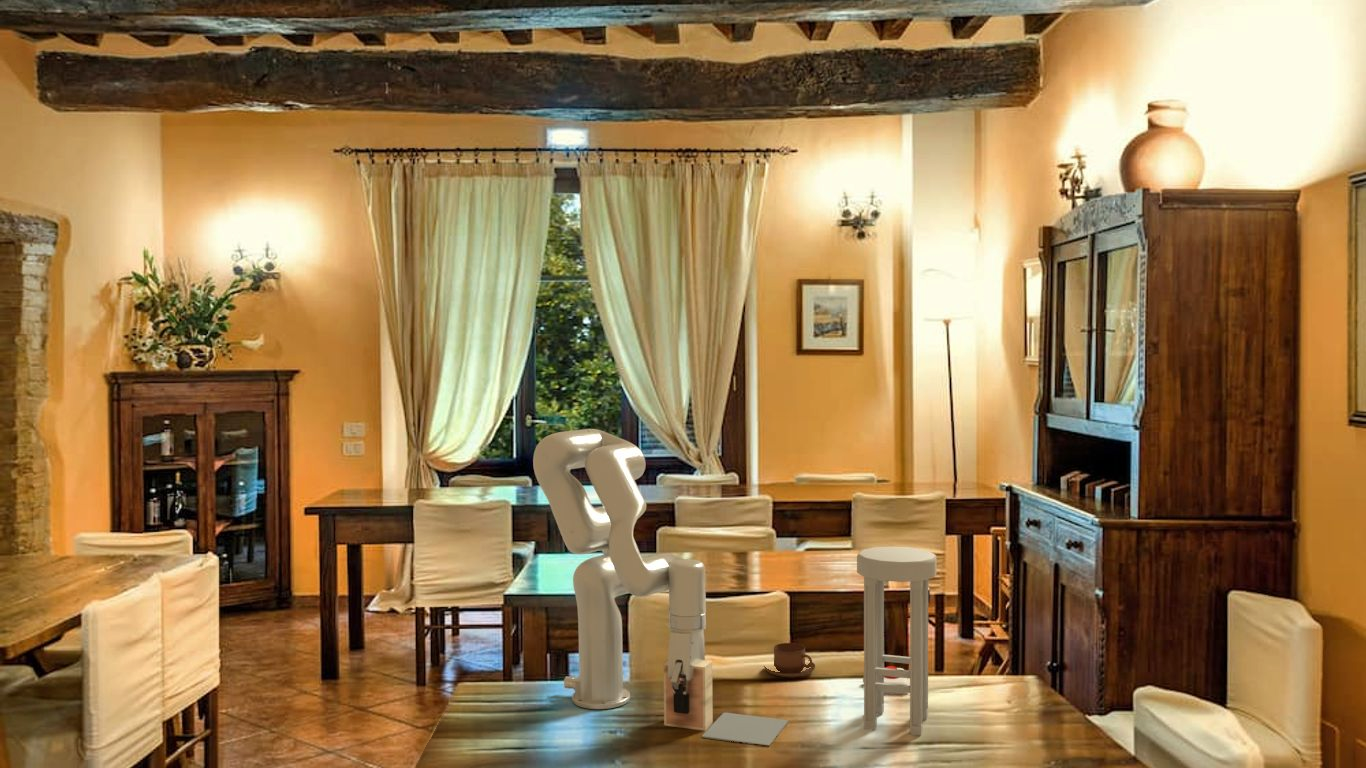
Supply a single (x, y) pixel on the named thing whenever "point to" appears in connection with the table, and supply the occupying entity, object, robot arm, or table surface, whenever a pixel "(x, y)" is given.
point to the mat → (745, 729)
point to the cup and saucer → (791, 660)
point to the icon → (894, 681)
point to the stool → (876, 570)
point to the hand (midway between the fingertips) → (688, 705)
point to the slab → (691, 699)
